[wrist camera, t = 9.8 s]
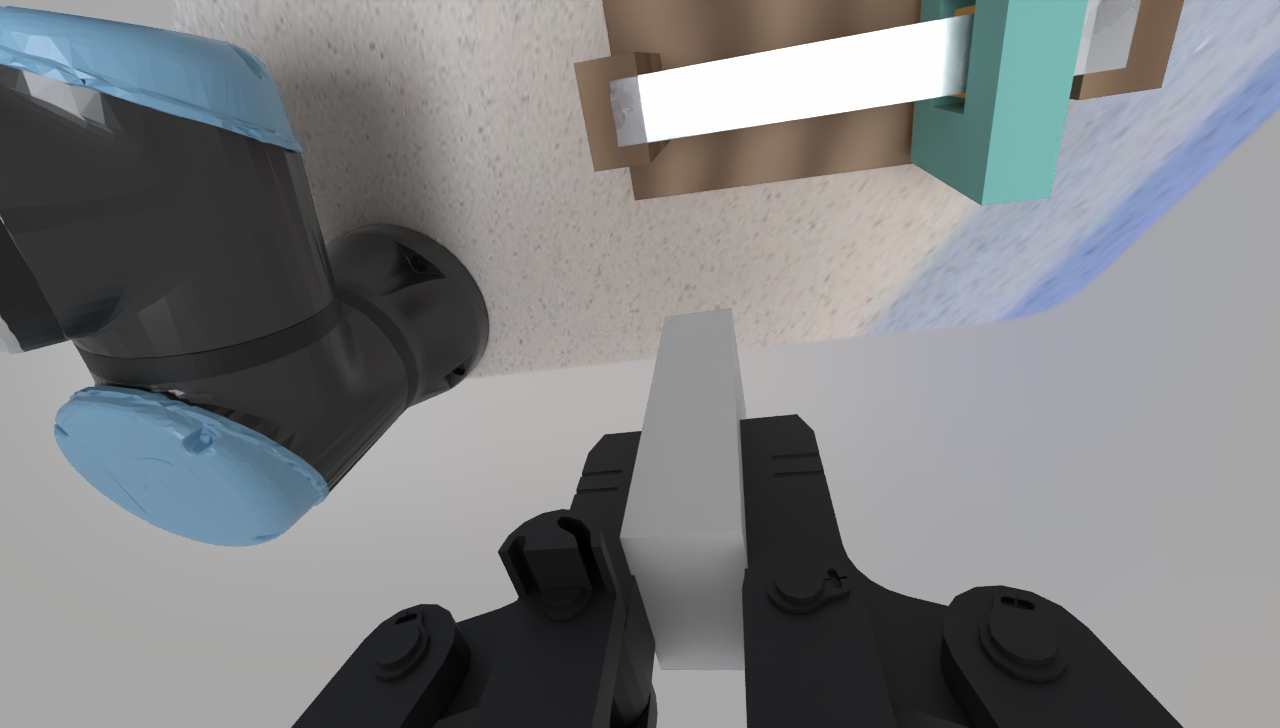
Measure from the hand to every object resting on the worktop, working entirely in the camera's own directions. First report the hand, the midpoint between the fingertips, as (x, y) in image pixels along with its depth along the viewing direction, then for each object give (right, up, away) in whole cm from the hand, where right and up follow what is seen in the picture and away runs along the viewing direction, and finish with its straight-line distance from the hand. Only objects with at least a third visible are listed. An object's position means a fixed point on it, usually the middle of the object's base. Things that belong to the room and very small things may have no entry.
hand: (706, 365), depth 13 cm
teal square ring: (+15, +17, +16) cm, 28 cm away
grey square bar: (+8, +14, +14) cm, 22 cm away
